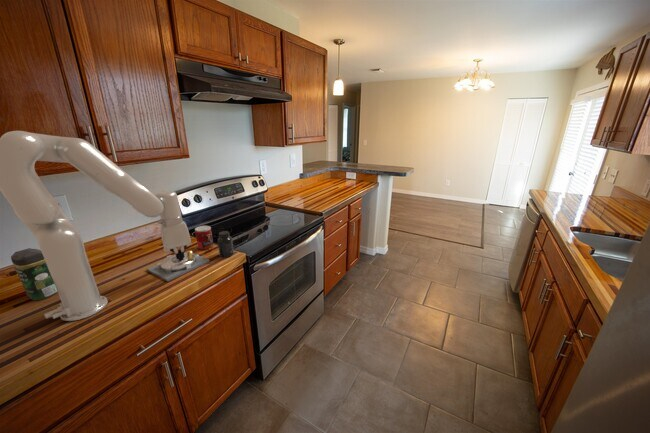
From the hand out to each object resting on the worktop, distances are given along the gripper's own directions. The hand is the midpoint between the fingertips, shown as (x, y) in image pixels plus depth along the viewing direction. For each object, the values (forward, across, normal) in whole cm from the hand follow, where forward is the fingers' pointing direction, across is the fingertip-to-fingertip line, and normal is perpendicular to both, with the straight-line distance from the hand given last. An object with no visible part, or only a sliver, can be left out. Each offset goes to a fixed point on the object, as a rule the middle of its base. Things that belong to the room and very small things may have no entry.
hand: (180, 259), depth 116 cm
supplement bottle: (+6, +21, +3) cm, 22 cm away
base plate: (+6, 0, +6) cm, 8 cm away
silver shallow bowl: (+4, 0, +6) cm, 7 cm away
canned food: (+6, +15, +19) cm, 25 cm away
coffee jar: (+5, -46, +15) cm, 49 cm away
